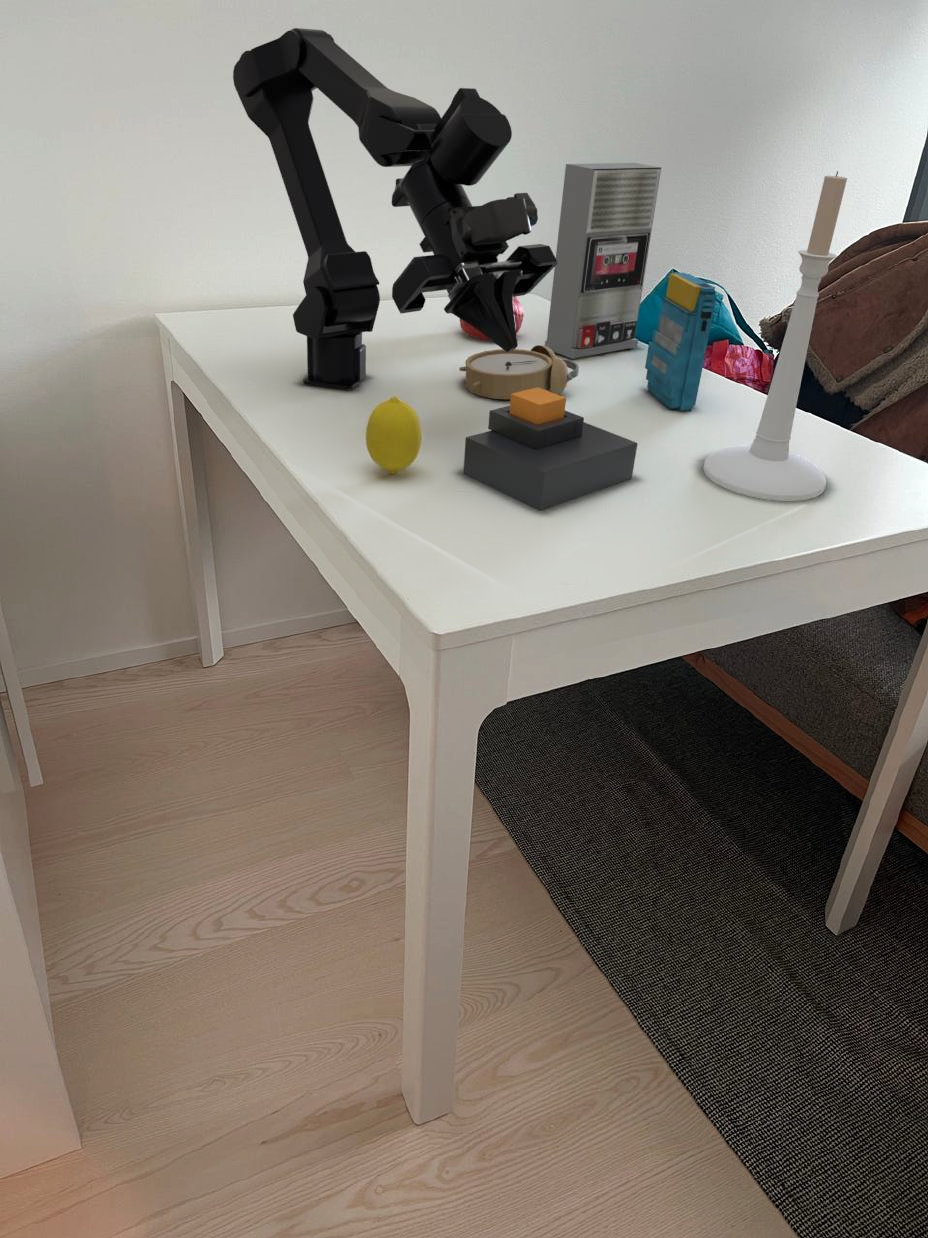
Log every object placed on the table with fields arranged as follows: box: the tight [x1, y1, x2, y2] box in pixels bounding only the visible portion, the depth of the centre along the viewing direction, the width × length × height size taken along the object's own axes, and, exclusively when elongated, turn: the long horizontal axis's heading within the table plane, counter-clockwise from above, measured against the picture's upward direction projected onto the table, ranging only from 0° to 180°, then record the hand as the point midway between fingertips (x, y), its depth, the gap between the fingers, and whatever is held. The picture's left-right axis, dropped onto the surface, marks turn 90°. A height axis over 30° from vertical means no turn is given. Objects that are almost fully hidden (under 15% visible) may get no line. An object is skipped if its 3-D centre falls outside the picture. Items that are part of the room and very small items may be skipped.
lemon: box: [365, 396, 423, 475], centre depth 94 cm, size 6×6×8 cm
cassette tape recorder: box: [544, 162, 662, 360], centre depth 135 cm, size 14×6×25 cm, turn 129°
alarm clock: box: [459, 344, 580, 400], centre depth 122 cm, size 11×5×15 cm
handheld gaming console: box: [644, 271, 717, 413], centre depth 119 cm, size 10×4×15 cm, turn 12°
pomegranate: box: [459, 296, 525, 341], centre depth 142 cm, size 10×10×9 cm
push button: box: [462, 405, 638, 512], centre depth 97 cm, size 12×14×6 cm
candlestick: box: [702, 170, 848, 502], centre depth 94 cm, size 13×13×30 cm
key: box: [509, 387, 567, 425], centre depth 96 cm, size 4×4×2 cm
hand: (512, 349), depth 96 cm, fingers closed
